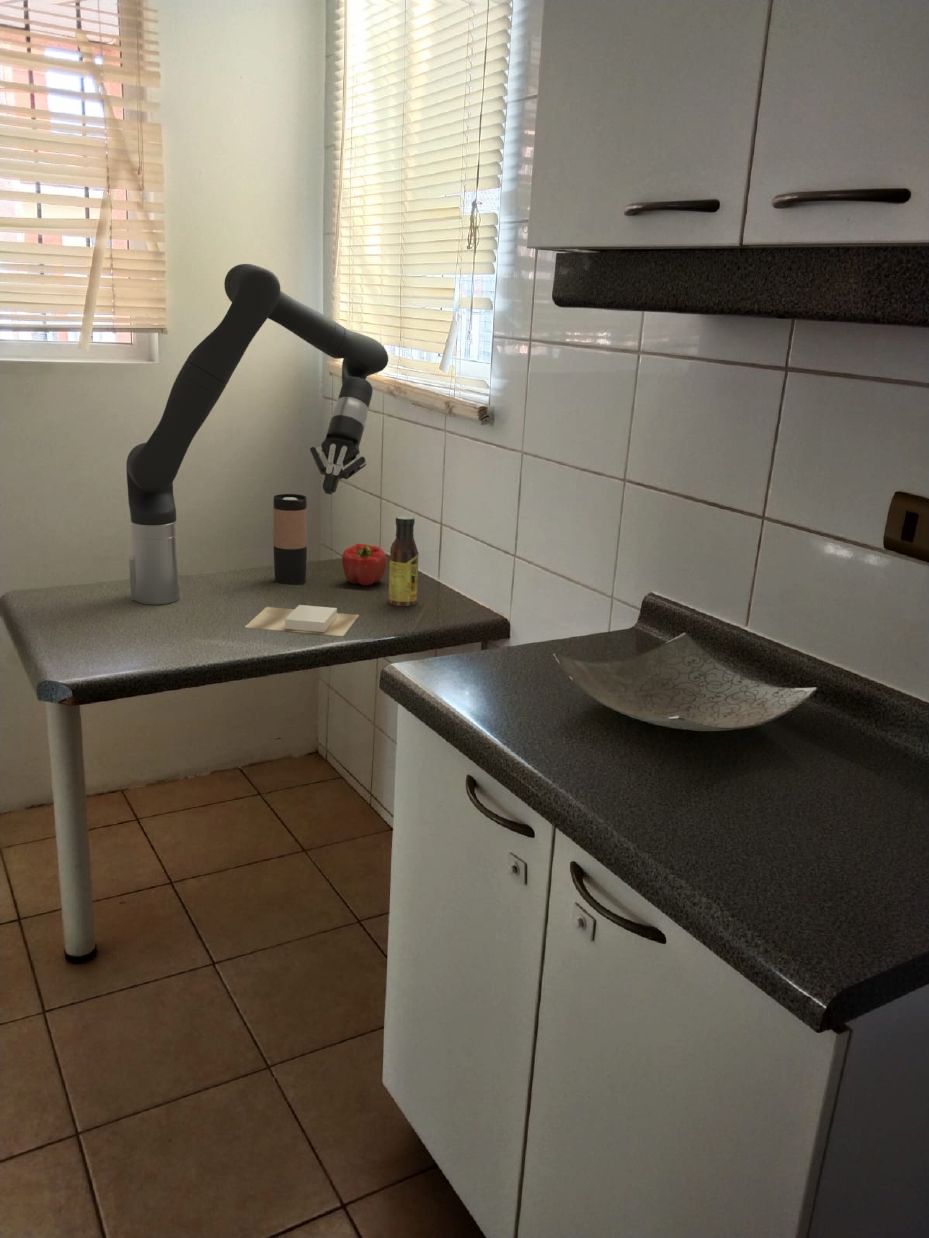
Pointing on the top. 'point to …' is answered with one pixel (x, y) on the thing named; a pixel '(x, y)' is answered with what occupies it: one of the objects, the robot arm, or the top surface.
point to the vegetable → (364, 564)
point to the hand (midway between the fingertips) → (328, 492)
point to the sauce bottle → (403, 564)
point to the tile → (311, 618)
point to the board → (276, 621)
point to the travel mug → (290, 538)
